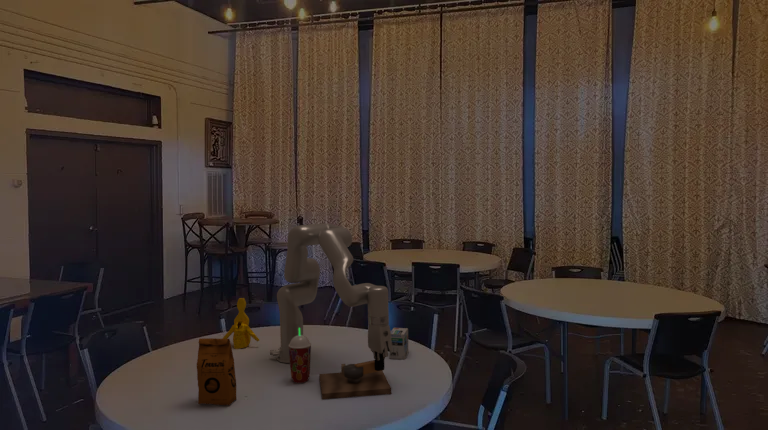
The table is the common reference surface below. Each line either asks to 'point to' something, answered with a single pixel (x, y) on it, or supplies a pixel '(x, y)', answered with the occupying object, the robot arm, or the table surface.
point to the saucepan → (359, 369)
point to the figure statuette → (241, 328)
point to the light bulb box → (399, 343)
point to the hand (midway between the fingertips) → (379, 369)
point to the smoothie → (300, 358)
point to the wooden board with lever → (353, 385)
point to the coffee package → (216, 372)
